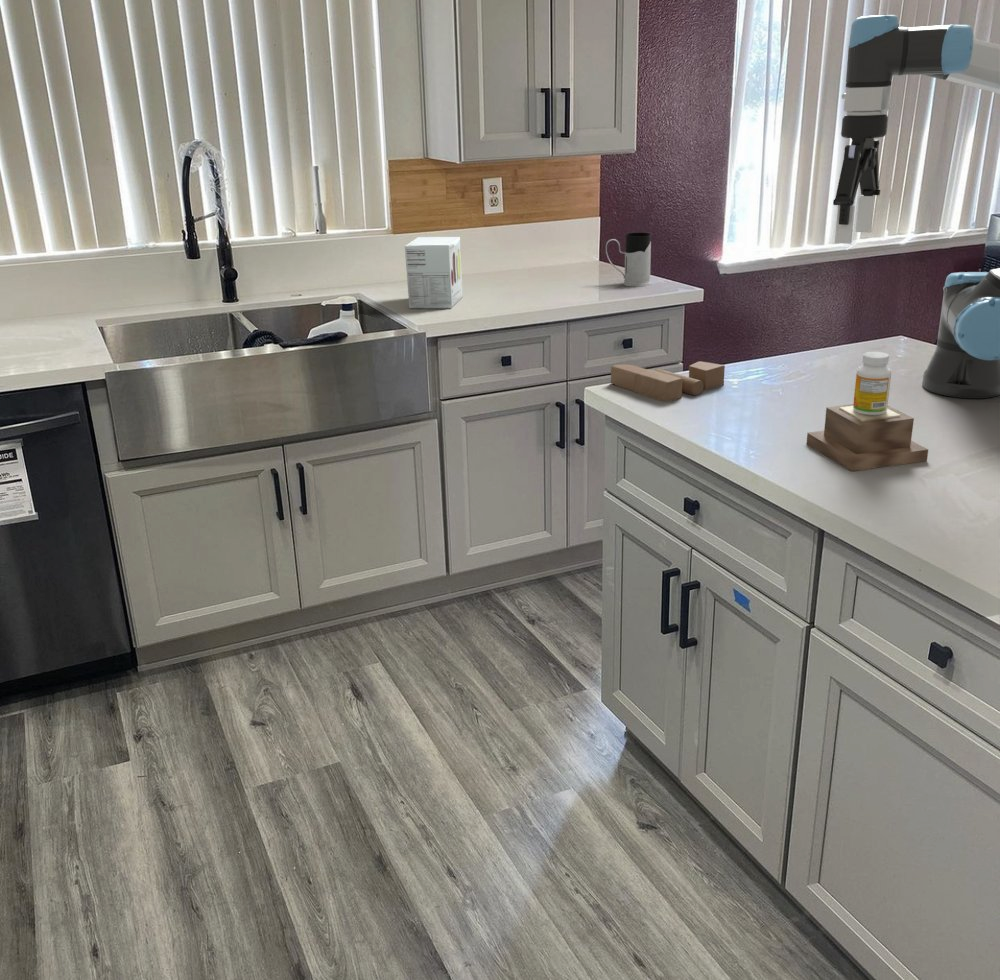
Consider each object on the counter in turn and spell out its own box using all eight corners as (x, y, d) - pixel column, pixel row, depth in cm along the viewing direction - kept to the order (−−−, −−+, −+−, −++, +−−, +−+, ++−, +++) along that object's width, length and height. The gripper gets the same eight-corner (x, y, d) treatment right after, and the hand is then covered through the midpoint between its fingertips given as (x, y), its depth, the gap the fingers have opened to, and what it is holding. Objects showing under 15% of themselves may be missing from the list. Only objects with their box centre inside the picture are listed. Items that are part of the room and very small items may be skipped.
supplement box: (453, 309, 286) (449, 245, 279) (408, 309, 288) (403, 245, 281) (464, 296, 301) (461, 235, 294) (421, 296, 304) (417, 236, 297)
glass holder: (652, 286, 304) (653, 236, 299) (605, 287, 306) (605, 237, 300) (650, 280, 312) (651, 231, 307) (605, 281, 314) (605, 233, 308)
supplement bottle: (859, 404, 170) (865, 348, 166) (891, 409, 167) (898, 353, 163) (847, 412, 166) (853, 356, 163) (879, 418, 163) (886, 360, 159)
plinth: (877, 434, 177) (882, 394, 174) (926, 460, 165) (932, 419, 162) (806, 443, 174) (809, 403, 171) (851, 471, 162) (855, 428, 159)
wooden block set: (669, 378, 196) (608, 361, 210) (669, 406, 198) (608, 386, 212) (728, 362, 205) (666, 346, 219) (727, 388, 207) (666, 371, 221)
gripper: (862, 110, 185) (851, 226, 193) (822, 117, 166) (812, 246, 174) (904, 109, 181) (891, 228, 189) (869, 117, 162) (856, 249, 170)
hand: (853, 237), depth 182 cm, fingers open, 13 cm apart
